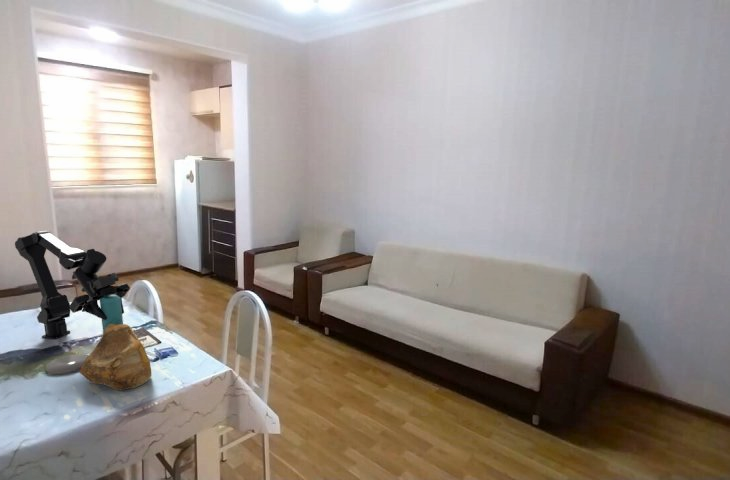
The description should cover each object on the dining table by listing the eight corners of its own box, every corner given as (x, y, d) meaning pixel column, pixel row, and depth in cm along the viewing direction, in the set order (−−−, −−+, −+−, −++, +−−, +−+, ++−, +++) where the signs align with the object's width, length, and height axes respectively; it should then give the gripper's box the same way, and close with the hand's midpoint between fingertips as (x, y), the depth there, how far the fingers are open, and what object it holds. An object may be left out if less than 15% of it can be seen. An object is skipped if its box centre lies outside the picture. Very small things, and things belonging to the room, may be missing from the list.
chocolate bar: (143, 327, 166) (161, 341, 154) (143, 330, 166) (161, 343, 154) (118, 334, 159) (134, 349, 147) (118, 336, 160) (135, 351, 147)
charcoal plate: (36, 373, 131) (36, 369, 131) (68, 355, 143) (68, 352, 142) (70, 376, 129) (69, 373, 129) (100, 358, 141) (99, 355, 141)
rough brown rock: (77, 376, 131) (66, 333, 127) (134, 356, 142) (126, 315, 138) (95, 411, 115) (84, 363, 111) (158, 384, 126) (150, 340, 122)
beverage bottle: (115, 346, 142) (109, 290, 138) (98, 344, 143) (92, 288, 140) (129, 338, 148) (124, 284, 145) (113, 336, 150) (108, 283, 146)
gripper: (71, 273, 134) (97, 312, 132) (124, 261, 151) (148, 295, 149) (58, 293, 138) (84, 331, 136) (111, 279, 155) (134, 312, 153)
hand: (114, 316), depth 144 cm, fingers closed on beverage bottle, 6 cm apart
